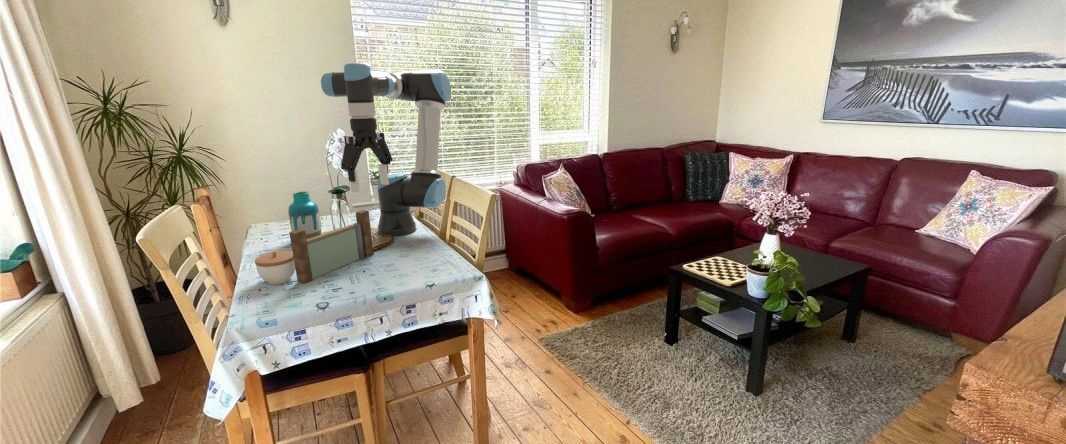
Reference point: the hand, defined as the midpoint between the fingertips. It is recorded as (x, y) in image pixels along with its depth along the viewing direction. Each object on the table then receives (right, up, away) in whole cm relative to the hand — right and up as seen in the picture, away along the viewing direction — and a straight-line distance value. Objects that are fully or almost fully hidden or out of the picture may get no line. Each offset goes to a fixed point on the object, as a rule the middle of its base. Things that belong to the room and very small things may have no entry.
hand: (370, 187), depth 146 cm
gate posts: (-13, -26, +6) cm, 29 cm away
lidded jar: (-27, -29, -4) cm, 40 cm away
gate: (-13, -25, +6) cm, 29 cm away
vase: (-36, -18, +33) cm, 52 cm away
